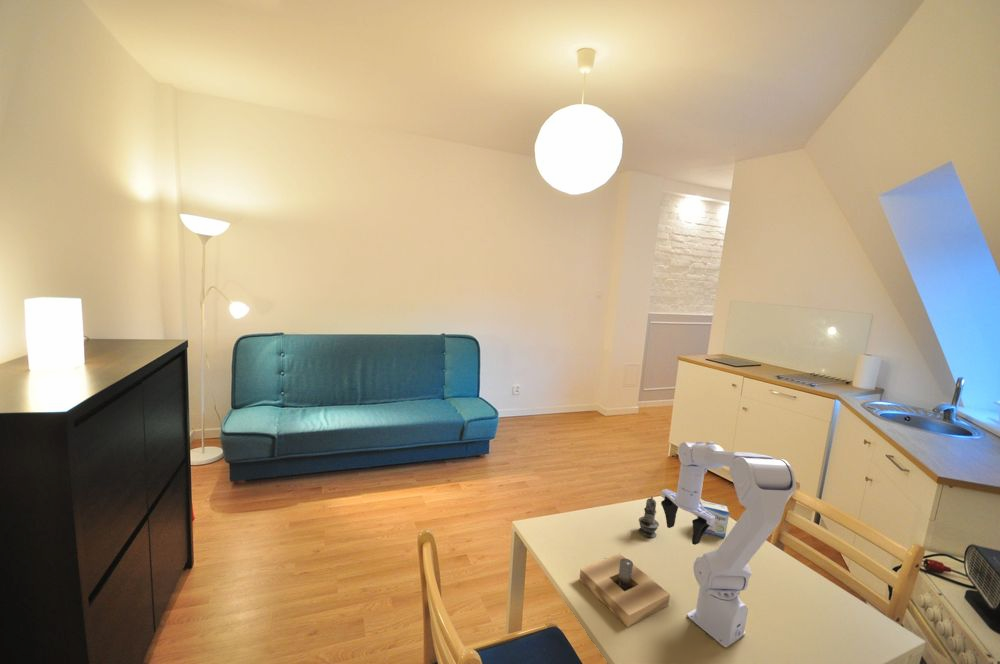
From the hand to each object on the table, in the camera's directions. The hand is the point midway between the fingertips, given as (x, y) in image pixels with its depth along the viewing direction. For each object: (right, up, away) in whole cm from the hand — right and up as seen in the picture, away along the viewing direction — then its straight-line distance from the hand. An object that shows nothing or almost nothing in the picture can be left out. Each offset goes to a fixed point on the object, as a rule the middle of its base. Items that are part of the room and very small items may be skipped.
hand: (682, 534), depth 110 cm
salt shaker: (-3, -8, +17) cm, 19 cm away
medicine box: (+18, -9, +21) cm, 29 cm away
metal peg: (-18, -10, -8) cm, 22 cm away
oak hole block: (-18, -10, -8) cm, 23 cm away
